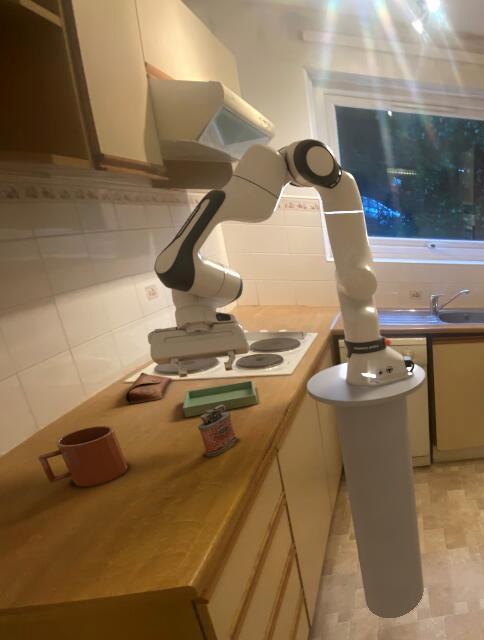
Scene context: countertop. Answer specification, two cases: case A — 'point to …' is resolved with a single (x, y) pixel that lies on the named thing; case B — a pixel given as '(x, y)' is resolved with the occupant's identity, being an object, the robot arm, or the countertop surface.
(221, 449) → the lighter
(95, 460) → the mug
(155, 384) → the sunglasses case
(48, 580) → the countertop surface
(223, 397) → the tray
